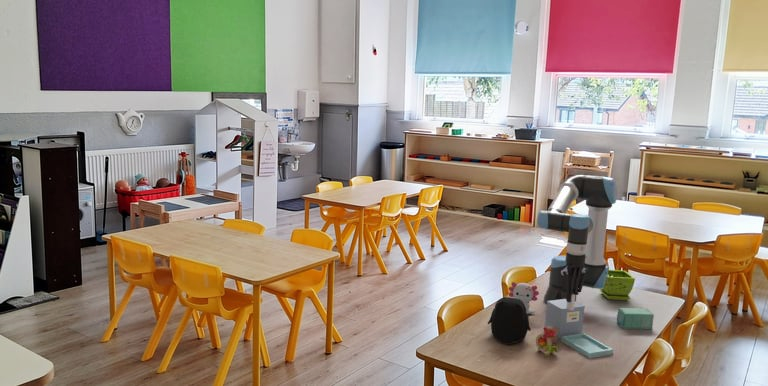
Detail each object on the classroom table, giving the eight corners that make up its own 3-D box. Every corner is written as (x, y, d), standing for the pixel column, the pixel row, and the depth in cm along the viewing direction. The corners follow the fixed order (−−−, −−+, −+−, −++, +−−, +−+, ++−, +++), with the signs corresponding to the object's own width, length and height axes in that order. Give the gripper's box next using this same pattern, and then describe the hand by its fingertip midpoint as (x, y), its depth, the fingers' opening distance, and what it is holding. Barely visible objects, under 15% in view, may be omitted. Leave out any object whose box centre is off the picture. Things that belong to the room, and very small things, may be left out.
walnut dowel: (541, 340, 260) (543, 326, 259) (551, 339, 262) (552, 325, 261) (549, 345, 255) (550, 331, 254) (559, 343, 257) (560, 330, 256)
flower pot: (633, 302, 311) (635, 278, 309) (605, 301, 311) (607, 277, 309) (622, 293, 325) (625, 269, 322) (596, 291, 325) (598, 268, 322)
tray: (561, 340, 260) (561, 336, 260) (583, 337, 265) (584, 333, 264) (589, 358, 245) (589, 353, 244) (612, 354, 250) (613, 349, 249)
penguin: (531, 333, 266) (535, 295, 263) (527, 350, 250) (530, 309, 247) (490, 326, 272) (493, 289, 269) (482, 342, 255) (485, 302, 252)
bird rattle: (534, 358, 248) (553, 356, 241) (527, 330, 249) (546, 328, 243) (543, 354, 252) (562, 352, 245) (536, 326, 253) (555, 324, 247)
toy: (505, 314, 287) (508, 283, 285) (508, 308, 295) (511, 278, 292) (535, 319, 282) (538, 288, 280) (538, 314, 290) (541, 283, 287)
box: (615, 322, 284) (617, 307, 282) (644, 323, 284) (647, 308, 283) (622, 329, 276) (624, 313, 275) (652, 330, 277) (654, 314, 276)
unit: (543, 329, 272) (546, 300, 270) (565, 325, 277) (568, 298, 274) (559, 338, 262) (562, 309, 260) (582, 335, 267) (585, 306, 265)
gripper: (569, 256, 242) (563, 314, 246) (595, 254, 248) (589, 310, 252) (556, 251, 249) (551, 307, 253) (582, 249, 254) (576, 304, 258)
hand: (570, 309), depth 252 cm, fingers closed
